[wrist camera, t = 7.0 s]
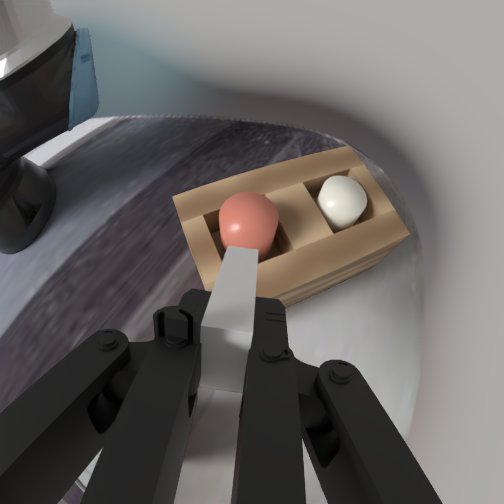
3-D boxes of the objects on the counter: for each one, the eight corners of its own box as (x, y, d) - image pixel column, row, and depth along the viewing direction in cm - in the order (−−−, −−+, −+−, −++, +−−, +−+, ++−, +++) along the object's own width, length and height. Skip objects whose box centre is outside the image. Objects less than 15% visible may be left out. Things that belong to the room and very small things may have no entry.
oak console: (186, 238, 34) (172, 196, 26) (328, 189, 38) (349, 145, 30) (223, 333, 30) (218, 319, 21) (374, 265, 34) (410, 233, 25)
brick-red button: (214, 228, 26) (210, 202, 22) (259, 212, 27) (263, 185, 23) (232, 272, 25) (232, 252, 21) (280, 253, 26) (288, 231, 22)
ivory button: (304, 206, 30) (313, 182, 26) (338, 194, 31) (350, 171, 27) (324, 242, 29) (338, 221, 25) (359, 228, 30) (375, 207, 26)
